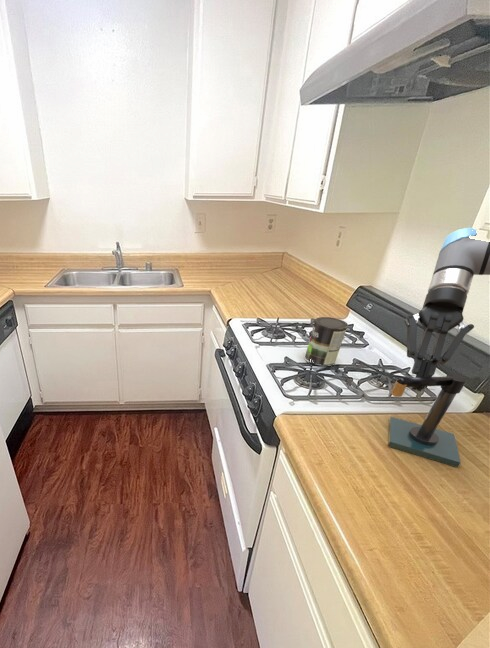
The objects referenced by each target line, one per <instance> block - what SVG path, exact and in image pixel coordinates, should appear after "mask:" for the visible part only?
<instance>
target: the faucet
mask: <svg viewBox="0 0 490 648" xmlns="http://www.w3.org/2000/svg"><path fill="white" fill-rule="evenodd" d="M456 395H457V394H454V393H449V392H447V391H444V390H443V389H442V388H440V391H439V393H438V395H437V397H436V398H435V399H434V402H433V404H432V405H431V407H430V409H429V411H428V413H427V415H426V416H425V418H424V420H423V422H422V424H420V423H416V422H412V421H409V420H405V419H402V418H398V417H395V416H390V417H389V419H388V426H387V427H388V430H387V447H390V448H392V449H396V450H399V451H403V452H405V453H409V454H412V455H414V456H419V457H422V458H426V459H429V460H431V461H435V462H438V463H442V464H445V465H448V466H452V467H454V468H459V466H460V465H461V463H462V461H461V458H460V453H459V449H458V444H457V440H456V435H455V433H453V432H449V431H446V430H443V429H442V430H441V429H438V426H439V425H440V423H441V421H442V420H443V418H444V417H445V415H446V413H447V411H448V409H449V408H450V406H451V405H452V403H453V402H454V399H455V397H456Z"/></svg>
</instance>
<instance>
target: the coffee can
mask: <svg viewBox="0 0 490 648" xmlns="http://www.w3.org/2000/svg"><path fill="white" fill-rule="evenodd" d="M348 327H349V324H348V323H347V322H346V321H344V320H342V319H340V318H336V317H330V316H321V317H316V318H315V319H314V321H313V326H312V331H311V333H310V336H309V337H310V338H309V341H308V345H307V349H306V352H305V354H304V361H306V362H307V363H308V364H310V363H309V362H310V359H311V357H312V360H313V362H314V363H318V364H321V365H334V366H335V365H336V362H337V358H338V356H339V352H340V349H341V346H342V344H343V340H344V337H345V335H346V331H347V330H348Z"/></svg>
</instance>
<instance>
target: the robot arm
mask: <svg viewBox="0 0 490 648" xmlns="http://www.w3.org/2000/svg"><path fill="white" fill-rule="evenodd" d="M473 228H474V227H464V228H459V229H457V230H453V232H451V233H449V234H448V235H447V236H446V237H445V239H444V240H443V243H442V246H441V248H440V250H439V252H438V257H437V260H436V262H435V267H434V270H433V273H432V277H431V279H430V283H429V286H428V289H427V293H426V296H425V299H424V302H423V305H422V308H421V309H420V310H419V312H418V313H416V314H412V313H409V314H408V315H407V316H406V318H405V319H404V324H405V326H406V328H407V329H406V330H407V332H406V335H407V336H406V357H407V358H409V359H410V358H411V359H412V360H413V366H412V369H411V374H412V375H415V377H434V375H435V373H436V370H437V366H438V365H445V364H446V363H447V362H449V361H450V360H451V358H452V356H453V355H454V354H455V353H456V350H457V349H458V347H459V345H461V343H462V341H463V340H464V338H465V336H466V335H468V334H469V333H470V332H471V331H472V330H473V329H474V328H475V325H474V324H473V323H467V322H465V321H464V319H465V318H464V315H463V312H464V309H465V306H466V302H467V299H468V295H469V293H470V289H471V285H472V282H473V279H474V276H476V275H477V276H490V242H486V241H481V240H475V239H470V238H469V236H470V235H471V236H476V235H477V233H476V230H477V229H475V228H474V229H473ZM472 230H473V231H472ZM418 322H419V323H420V325H421V327H422V328H423V332H422V335H421V340H420V343H419V346H418V348H417V326H418V325H417V324H418ZM454 328H457V329H456V332H457V333H456V335H455V336H454V337H453V339H452V341H451V342H450V344H449V345H448V347H447V349H446V350H445V352H444V353H443V349H444V344H445V341H446V338H447V334H448V332H451V330H453V329H454ZM433 333H436V334H435V340H434V344H433V348H432V351H431V354H430V358H429V359H425V357H426V353H427V350H428V348H429V345H430V341H431V338H432V335H433ZM442 353H443V354H442ZM441 355H442V356H441ZM425 387H426V386H420V387H411V389H412V390H413V391H417V392H422V391H423V390H424V389H425Z"/></svg>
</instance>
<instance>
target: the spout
mask: <svg viewBox="0 0 490 648" xmlns="http://www.w3.org/2000/svg"><path fill="white" fill-rule="evenodd" d="M467 382H468V380H467V378H466V377H465V376H462V375H459V374H456V373H447V374H446V376H432V377H416V376H415V377H414V376H413V377H399V378H397V380H395V382H394V384H393V386H392V389H391V391H390V394H391V395H392V396H395V397H398V398H400V397H403V395H404V393H405V391H406V389H407V388H412V387H420V386H425V387H440V389H443V390H444V391H447V392H449V393H454V394H456V395H457V394H460V393H461V392H462V390H463V388H464V386H465V385H466V383H467Z"/></svg>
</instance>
